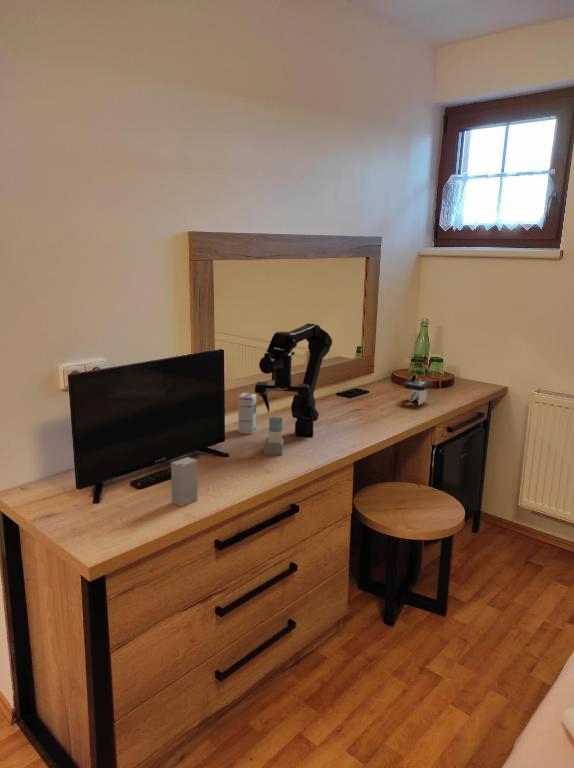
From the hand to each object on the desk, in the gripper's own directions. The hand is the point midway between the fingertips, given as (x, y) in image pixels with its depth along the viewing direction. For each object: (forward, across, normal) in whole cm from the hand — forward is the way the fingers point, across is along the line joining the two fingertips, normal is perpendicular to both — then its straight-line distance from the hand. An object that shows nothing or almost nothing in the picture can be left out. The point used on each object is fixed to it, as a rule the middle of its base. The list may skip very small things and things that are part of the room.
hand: (281, 412), depth 204 cm
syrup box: (+13, +14, -14) cm, 23 cm away
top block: (+9, +2, +6) cm, 11 cm away
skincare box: (+13, +23, +49) cm, 56 cm away
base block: (+13, +2, +6) cm, 14 cm away
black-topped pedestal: (+13, -57, -66) cm, 88 cm away
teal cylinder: (+5, +2, +6) cm, 7 cm away
